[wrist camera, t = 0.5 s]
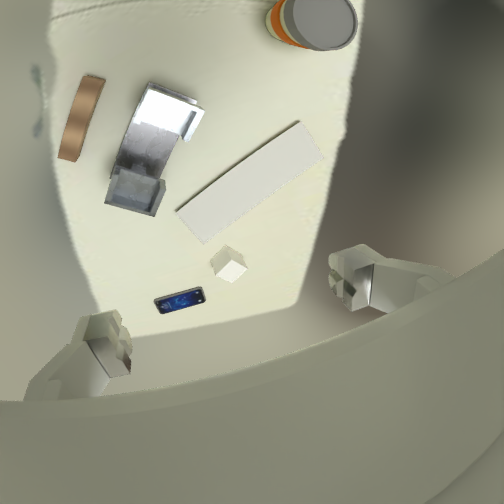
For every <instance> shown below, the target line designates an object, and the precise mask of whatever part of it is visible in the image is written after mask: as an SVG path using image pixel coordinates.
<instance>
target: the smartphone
mask: <svg viewBox="0 0 504 504" xmlns="http://www.w3.org/2000/svg"><path fill="white" fill-rule="evenodd" d="M205 301H206V298H205V295H204V292H203V289H202V287H196V288H192V289H189V290H185V291H182V292H178V293H175V294H171V295H167V296H164V297H160V298H157V299H155V300H154V304H155V305H156V307H157V309H158V311H159V313H160V314H165V313H169V312H173V311H176V310H180V309H183V308H187V307H190V306H194V305H197V304H201V303H204V302H205Z"/></svg>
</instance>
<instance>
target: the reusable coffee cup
mask: <svg viewBox="0 0 504 504" xmlns="http://www.w3.org/2000/svg"><path fill="white" fill-rule="evenodd" d="M265 20H266V27H267V29H268V31H269V32H270V34H271V35H272V36H273V37H275V38H276V39H278V40H281V41H284V42H286V43H288V44H290V45H294V46H298V47H302V48H306V49H312V50H315V51H330V50H338V49H342V48H344V47H345V46H347V45H348V44H349V43H351V41H352V40H353V39H354V37H355V35H356V32H357V28H358V20H357V14H356V12H355V9H354V7H353V5H352V4H351V2H350V1H349V0H280V1H278V2H277V3H276V4H275V6H274V7H273V8H271V9H270V10H269V12H268V13H267V15H266V19H265Z"/></svg>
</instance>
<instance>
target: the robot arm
mask: <svg viewBox="0 0 504 504" xmlns="http://www.w3.org/2000/svg"><path fill="white" fill-rule="evenodd" d="M329 266H330V267H331V268H332V270H331V271H330V273H329V284H330V287H331V290H332V291H333V293H334V294H335V295H336V296H337V297H341V298H343V303H344V304H345V305H346V306H347V307H348V308H349V310H351V311H355V310H358V309H360V308H363V307H366V306H368V305H370V306H371V307H374V308H377V309H379V310H381V311H384V312H386V313H388V314H386V315H384V316H382V317H380V318H377V319H375V320H373V321H371V322H368V323H366V324H364V325H362V326H359V327H357V328H354V329H352V330H350V331H347V332H345V333H343V334H340V335H337V336H335V337H332V338H330V339H327V340H324V341H322V342H319V343H317V344H314V345H311V346H308V347H306V348H303V349H300V350H297V351H294V352H291V353H288V354H285V355H282V356H279V357H276V358H273V359H270V360H267V361H263V362H260V363H257V364H253V365H250V366H247V367H243V368H240V369H236V370H232V371H229V372H225V373H221V374H217V375H213V376H210V377H205V378H201V379H197V380H192V381H188V382H183V383H178V384H174V385H169V386H163V387H159V388H153V389H148V390H141V391H136V392H129V393H122V394H114V395H106V396H100V394H101V393H102V391H103V390H104V388H105V387H106V385H107V384H108V382H109V380H110V378H113V377H118V376H123V375H128V374H130V372H131V371H130V370H131V359H130V358H129V356H130V354H131V353H132V341H131V337H130V334H129V332H128V330H127V328H125V327H124V326H122V325H121V322H122V318H121V316H120V314H119V312H118V311H117V310H116V309H115V310H111V311H106V312H101V313H96V314H91V315H87V316H82V317H81V318H80V319H79V321H78V324H77V327H76V329H75V332H74V335H73V338H72V341H71V343H70V344H67V345H66V346H65V347H64V348H63V349H62V350H61V351H59V353H57V354H56V355H55V356H54V357H53V358H52V359H51V360H50V361H49V362H48V363H47V364H46V365H45V366H44V367H43V368H42V369H41V370H40V371H39V372H38V373H37V374H36V375H35V376H34V377H33V378H32V379H31V380H30V381H29V384H28V387H27V390H26V393H25V396H24V399H23V401H2V400H1V401H0V504H504V249H502V250H500V251H499V252H497V253H496V254H494V255H493V256H491V257H490V258H488V259H487V260H485V261H484V262H482V263H480V264H479V265H477V266H476V267H474V268H472V269H471V270H469V271H468V272H466V273H464V274H463V275H461V276H459V277H457V278H456V277H454V276H453V275H452V274H450V273H448V272H447V271H445V270H444V269H442V268H440V267H435V266H429V265H425V264H419V263H414V262H409V261H403V260H398V259H392V258H389V259H386V258H385V257H383V256H382V255H380V254H379V253H377V252H375V251H374V250H372V249H371V248H369V247H368V246H366V245H365V244H360V245H357V246H355V247H352V248H348V249H345V250H342V251H339V252H336V253H333V254H330V256H329Z"/></svg>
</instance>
